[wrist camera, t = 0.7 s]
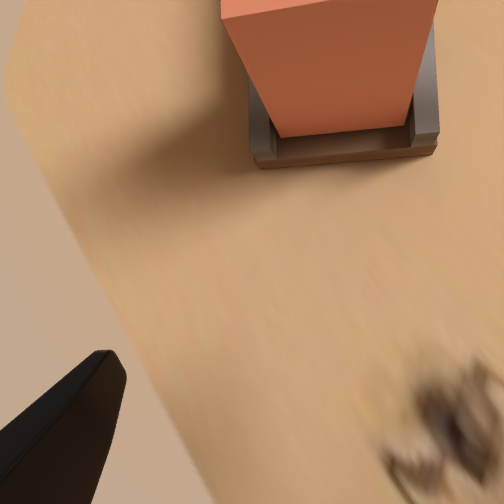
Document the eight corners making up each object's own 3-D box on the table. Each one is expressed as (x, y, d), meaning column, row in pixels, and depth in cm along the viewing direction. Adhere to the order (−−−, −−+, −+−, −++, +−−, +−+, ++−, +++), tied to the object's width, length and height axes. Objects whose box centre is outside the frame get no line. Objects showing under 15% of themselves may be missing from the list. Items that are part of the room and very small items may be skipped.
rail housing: (432, 154, 22) (445, 129, 19) (260, 169, 24) (244, 149, 21) (418, -89, 23) (428, -153, 20) (256, -55, 25) (240, -108, 22)
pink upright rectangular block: (404, 125, 21) (443, -20, 11) (280, 138, 22) (220, 19, 13) (400, 46, 21) (434, -161, 11) (279, 63, 23) (219, -107, 13)
